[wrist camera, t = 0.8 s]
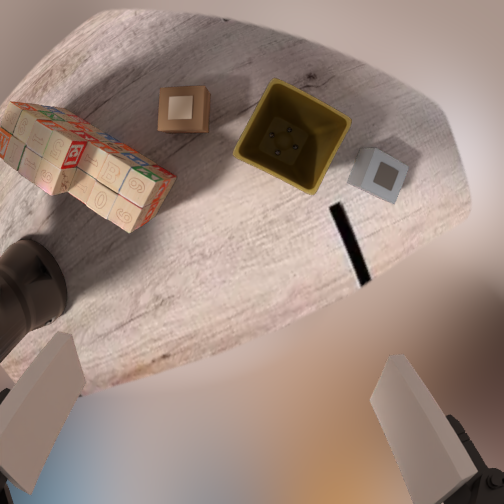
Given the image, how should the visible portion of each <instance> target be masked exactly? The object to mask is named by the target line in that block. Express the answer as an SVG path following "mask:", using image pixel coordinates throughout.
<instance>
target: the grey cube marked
mask: <svg viewBox="0 0 504 504" xmlns="http://www.w3.org/2000/svg"><path fill="white" fill-rule="evenodd" d="M408 169H409V166H407V165H405V164H404V163H402V162H400V161H399V160H397V159H395V158H394V157H392V156H390V155H388V154H386V153H385V152H383V151H381V150H379V149H377V148H360V151H359V153H358V156H357V158H356V161H355V163H354V166H353V168H352V171H351V173H350V176H349V178H348V181H347V183H349V184H351V185H353V186H355V187H357V188H359V189H361V190H363V191H365V192H367V193H369V194H371V195H373V196H375V197H377V198H380V199H382V200H385V201H388V202H390V203H393V204H395V202H396V200H397V197H398V195H399V192H400V190H401V187H402V185H403V182H404V179H405V177H406V174H407V172H408Z"/></svg>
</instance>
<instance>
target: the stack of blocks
mask: <svg viewBox="0 0 504 504" xmlns="http://www.w3.org/2000/svg"><path fill="white" fill-rule="evenodd" d="M0 125H1V127H0V157H1V158H2V159H3V160H4V162H5V163H7V164H8V165H9V166H11V167H12V168H13V169H15V170H16V171H18V172H19V174H21V175H22V176H24V177H25V178H26V179H28V180H29V181H30V182H32V183H34V184H35V185H36V186H38V187H39V188H41V189H42V190H43V191H45V192H46V193H48V194H49V195H51V196H53V195H57V194H61V193H65V192H68V193H70V194H71V195H72V196H74V197H75V198H77V199H78V200H80V201H81V202H83V203H84V204H86V206H87V207H89V208H90V209H92V210H93V211H95V212H96V213H98V214H99V215H101V216H102V217H104V218H105V219H108V220H110V221H111V222H112V223H114V224H116V225H117V226H119V227H120V228H122V229H123V230H125V231H126V232H128V233H131V232H133V231H134V230H136V229H137V228H139V227H141V226H143V225H144V224H145V223H147V222H148V221H149V220H151V219H152V218H153V217H155V216H156V214H157V212H158V210H159V208H160V207H161V205H162V203H163V201H164V199H165V197H166V196H167V194H168V193H169V191H170V189H171V187H172V186H173V184H174V182H175V180H176V178H177V176H175V175H174V174H172V173H170V172H168V171H167V170H165V169H163V168H162V167H160V166H158V165H157V164H156V163H155V162H153V161H152V160H150V159H148V158H147V157H145V156H143V155H142V154H140V153H138V152H137V151H135V150H134V149H132V148H130V147H129V146H127V145H125V144H124V143H121V142H119V141H118V140H116V139H114V138H113V137H111V136H109V135H108V134H105V133H104V132H102V131H101V130H99V129H97V128H95V127H94V126H92V125H91V124H90V123H88V122H86V121H85V120H83V119H81V118H80V117H78V116H76V115H75V114H73V113H71V112H70V111H68V110H66V109H65V108H58V107H50V106H43V105H38V104H31V103H20V102H9V104H8V106H7V109H6V111H5V114H4V116H3V119H2V121H1V124H0Z"/></svg>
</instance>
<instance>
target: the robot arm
mask: <svg viewBox="0 0 504 504" xmlns="http://www.w3.org/2000/svg"><path fill="white" fill-rule="evenodd" d="M66 301H67V291H66V285H65V281H64V278H63V275H62V272H61V270H60V268H59V266H58V264H57V263H56V261H55V260H54V258H53V257H52V255H51V254H50V253H49V252H48V251H47V250H46V249H45V248H44V247H43V246H42V245H40V244H39V243H37V242H35V241H32V240H28V239H24V240H20V241H18V242H16V243H14V244H12V245H10V246H9V247H8V248H7V249H6V250H5V251H4V253H3V255H2V256H1V257H0V363H1V362H2V361H3V359H4V358H5V357H6V356H7V355H8V354H9V353H10V352H11V351H12V349H13V348H14V347H15V346H16V345H17V344H18V343H19V342H20V341H21V340H22V339H23V337H24V336H25V335H26V334H27V333H28V332H30V331H33V330H35V329H38V328H41V327H43V326H46V325H49V324H51V323H53V322H54V321H55V320H56V319H57V318H58V317H59V316H60V315H61V314H62V313H63V311H64V309H65V306H66ZM85 384H86V380H85V377H84V374H83V371H82V368H81V364H80V361H79V358H78V354H77V351H76V348H75V344H74V340H73V337H72V334H68V333H63V332H59V331H58V332H57V333H56V334H55V335H54V336H53V337H52V339H51V340H50V341H49V342H48V343H47V345H46V346H45V347H44V348H43V349H42V351H41V352H40V353H39V354H38V356H37V357H36V358H35V359H34V361H33V362H32V363H31V364H30V366H29V367H28V368H27V369H26V371H25V372H24V373H23V375H22V376H21V377H20V379H19V380H18V381H17V383H16V384H15V385H14V387H13V388H12V389H11V390H10V389H8V388H6V389H4V390H3V391H1V392H0V504H13V501H12V497H11V494H10V491H9V488H8V486H7V484H6V481H7V479H8V480H9V481H10V482H11V483H12V484H13V485H14V486H15V487H17V488H19V489H21V490H23V491H24V492H26V493H28V494H30V495H31V494H32V492H33V489H34V487H35V485H36V482H37V480H38V478H39V475H40V473H41V471H42V469H43V466H44V464H45V462H46V460H47V457H48V456H49V453H50V451H51V449H52V447H53V445H54V443H55V441H56V439H57V437H58V435H59V433H60V431H61V429H62V427H63V425H64V423H65V421H66V419H67V417H68V415H69V413H70V411H71V409H72V407H73V406H74V404H75V402H76V400H77V398H78V396H79V395H80V393H81V391H82V389H83V387H84V386H85ZM370 402H371V405H372V406H373V409H374V411H375V413H376V416H377V418H378V420H379V422H380V425H381V427H382V429H383V431H384V434H385V436H386V438H387V441H388V443H389V445H390V448H391V450H392V452H393V455H394V457H395V459H396V461H397V464H398V467H399V469H400V471H401V474H402V476H403V479H404V481H405V483H406V486H407V489H408V491H409V494H410V496H411V499H412V501H413V504H441V503H442V502H443V503H444V504H504V472H502V471H501V470H499V469H496V468H490V469H489V468H488V467H487V466H486V465H485V463H484V461H483V459H482V458H481V456H480V454H479V453H478V451H477V449H476V448H475V446H474V444H473V443H472V441H471V440H470V438H469V436H468V435H467V433H465V430H464V428H463V427H462V425H461V424H460V423H459V421H458V420H456V419H455V418H454V417H453V416H452V415H447V416H445V415H444V414H443V412H442V411H441V409H440V407H439V406H438V404H437V403H436V401H435V400H434V398H433V396H432V395H431V394H430V392H429V390H428V389H427V387H426V386H425V384H424V383H423V382H422V380H421V378H420V377H419V376H418V374H417V373H416V371H415V370H414V368H413V367H412V365H411V364H410V362H409V361H408V360H407V358H406V357H405V356H404V354H399V355H389V357H388V360H387V362H386V365H385V367H384V369H383V372H382V374H381V376H380V379H379V381H378V383H377V385H376V387H375V389H374V391H373V394H372V396H371V398H370Z"/></svg>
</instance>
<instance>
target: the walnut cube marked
mask: <svg viewBox="0 0 504 504" xmlns="http://www.w3.org/2000/svg"><path fill="white" fill-rule="evenodd" d="M210 96H211V94H210V93H209V91H208V90H207V88H206V87H205V86H180V87H165V88H160V95H159V110H158V131H161V132H165V133H169V134H171V133H209V114H210Z"/></svg>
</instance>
